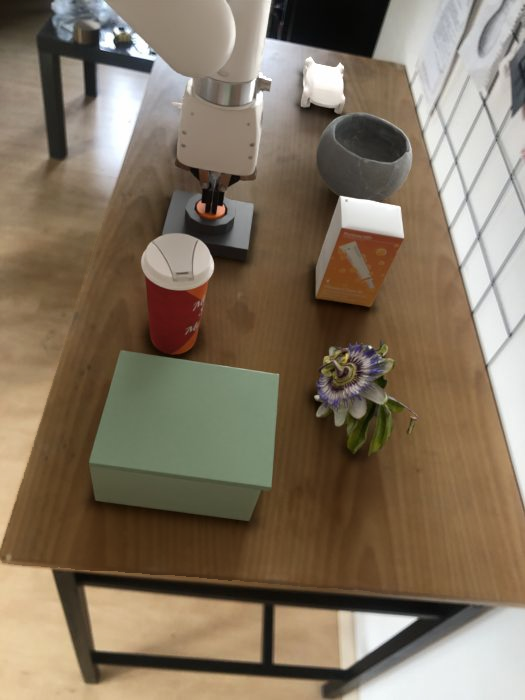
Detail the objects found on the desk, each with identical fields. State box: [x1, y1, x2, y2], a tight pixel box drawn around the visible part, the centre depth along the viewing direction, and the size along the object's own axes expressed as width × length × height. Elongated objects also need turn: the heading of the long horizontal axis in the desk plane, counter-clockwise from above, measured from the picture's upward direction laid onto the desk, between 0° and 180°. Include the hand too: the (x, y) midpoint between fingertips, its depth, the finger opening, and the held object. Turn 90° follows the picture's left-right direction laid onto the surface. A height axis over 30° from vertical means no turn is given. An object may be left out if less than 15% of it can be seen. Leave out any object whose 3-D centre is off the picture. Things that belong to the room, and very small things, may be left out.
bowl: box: [316, 112, 413, 202], centre depth 91 cm, size 15×15×10 cm
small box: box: [315, 196, 405, 308], centre depth 76 cm, size 8×6×13 cm
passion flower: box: [313, 338, 419, 457], centre depth 66 cm, size 11×11×12 cm
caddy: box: [88, 465, 262, 522], centre depth 59 cm, size 16×13×8 cm
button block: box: [160, 189, 255, 262], centre depth 82 cm, size 12×10×4 cm
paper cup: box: [140, 233, 215, 355], centre depth 66 cm, size 8×8×14 cm
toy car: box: [300, 56, 346, 115], centre depth 110 cm, size 18×8×4 cm, turn 176°
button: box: [196, 201, 225, 220], centre depth 81 cm, size 4×4×2 cm
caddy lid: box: [88, 350, 280, 492], centre depth 56 cm, size 16×13×1 cm
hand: (211, 207), depth 81 cm, fingers closed
